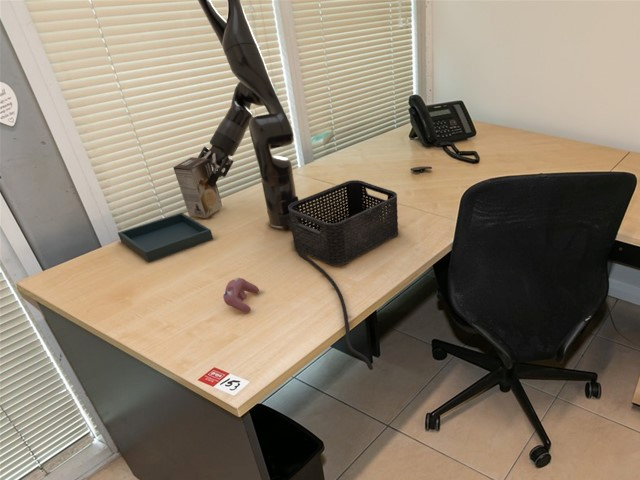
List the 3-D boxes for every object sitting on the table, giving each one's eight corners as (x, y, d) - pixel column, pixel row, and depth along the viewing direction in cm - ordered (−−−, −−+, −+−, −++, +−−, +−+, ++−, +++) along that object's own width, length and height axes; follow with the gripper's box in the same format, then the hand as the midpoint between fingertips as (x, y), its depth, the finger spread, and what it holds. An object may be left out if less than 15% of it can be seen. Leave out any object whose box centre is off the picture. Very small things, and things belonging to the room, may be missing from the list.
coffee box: (205, 204, 170) (191, 156, 160) (223, 206, 169) (210, 158, 160) (188, 216, 163) (172, 166, 153) (206, 218, 162) (192, 169, 152)
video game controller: (246, 296, 133) (228, 276, 129) (261, 289, 132) (243, 268, 128) (236, 319, 125) (216, 298, 121) (251, 312, 124) (232, 291, 120)
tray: (213, 239, 153) (210, 229, 151) (149, 262, 141) (145, 252, 139) (184, 221, 161) (181, 212, 159) (121, 242, 149) (117, 232, 147)
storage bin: (357, 215, 170) (354, 176, 163) (403, 233, 162) (402, 192, 155) (289, 249, 151) (282, 206, 143) (337, 270, 143) (332, 226, 135)
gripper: (205, 125, 163) (180, 170, 162) (231, 135, 156) (204, 182, 155) (225, 138, 170) (201, 181, 169) (250, 148, 163) (225, 194, 162)
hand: (202, 182), depth 162 cm, fingers closed on coffee box, 7 cm apart
